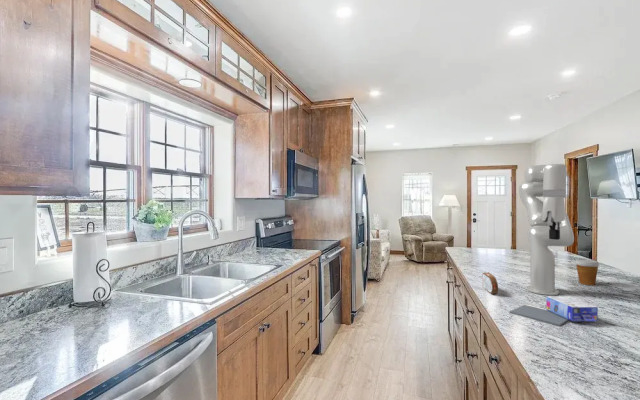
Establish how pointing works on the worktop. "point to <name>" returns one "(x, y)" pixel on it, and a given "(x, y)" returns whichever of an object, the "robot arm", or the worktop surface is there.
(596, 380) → the worktop surface
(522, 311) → the mat
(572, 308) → the ink cartridge box
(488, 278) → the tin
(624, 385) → the worktop surface
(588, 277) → the disposable coffee cup
